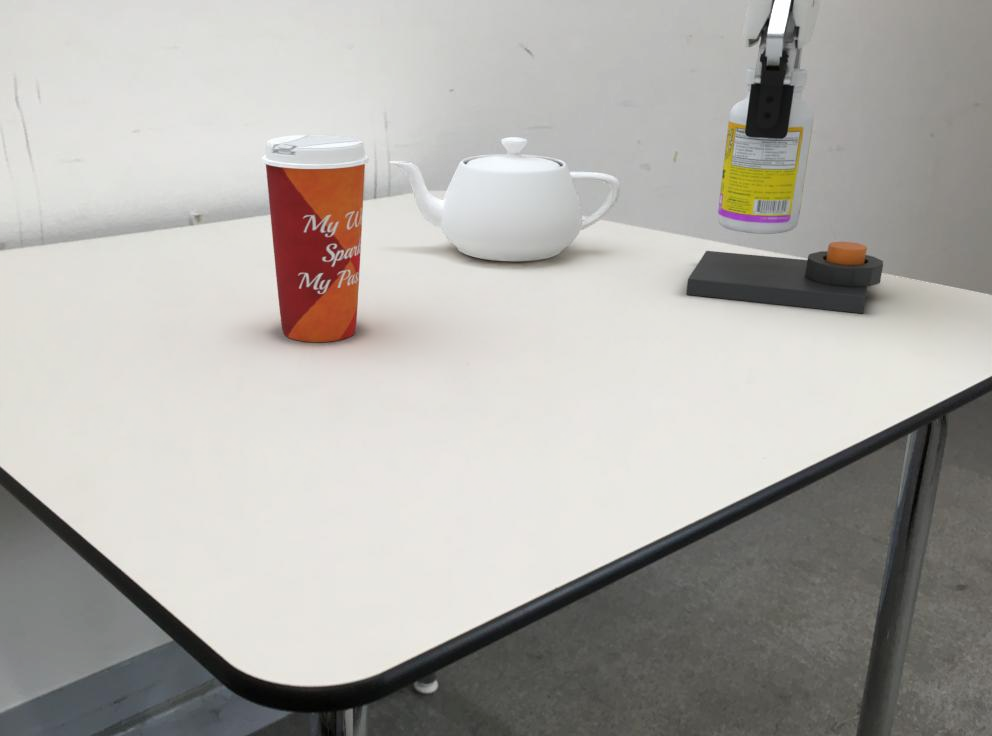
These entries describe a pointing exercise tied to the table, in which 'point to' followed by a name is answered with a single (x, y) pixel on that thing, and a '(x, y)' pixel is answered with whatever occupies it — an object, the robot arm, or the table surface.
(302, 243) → the paper cup
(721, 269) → the scale
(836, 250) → the tare button
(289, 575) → the table surface
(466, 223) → the teapot
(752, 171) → the supplement bottle
